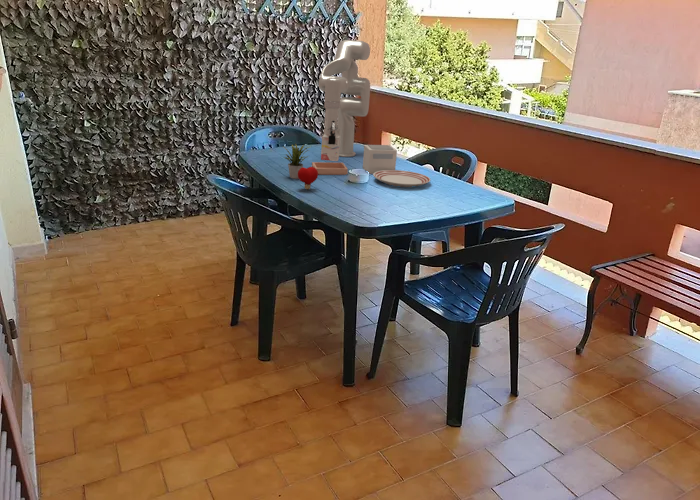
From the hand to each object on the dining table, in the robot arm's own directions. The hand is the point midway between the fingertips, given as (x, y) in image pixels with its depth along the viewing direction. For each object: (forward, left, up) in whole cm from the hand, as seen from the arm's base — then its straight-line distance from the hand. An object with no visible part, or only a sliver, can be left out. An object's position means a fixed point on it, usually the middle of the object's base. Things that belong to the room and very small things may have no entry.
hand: (330, 142), depth 262 cm
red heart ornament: (+32, -15, -15) cm, 38 cm away
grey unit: (-2, +26, -15) cm, 30 cm away
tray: (0, 0, -15) cm, 15 cm away
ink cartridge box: (0, 0, -9) cm, 9 cm away
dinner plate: (+19, +32, -15) cm, 40 cm away
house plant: (+12, -17, -15) cm, 26 cm away
